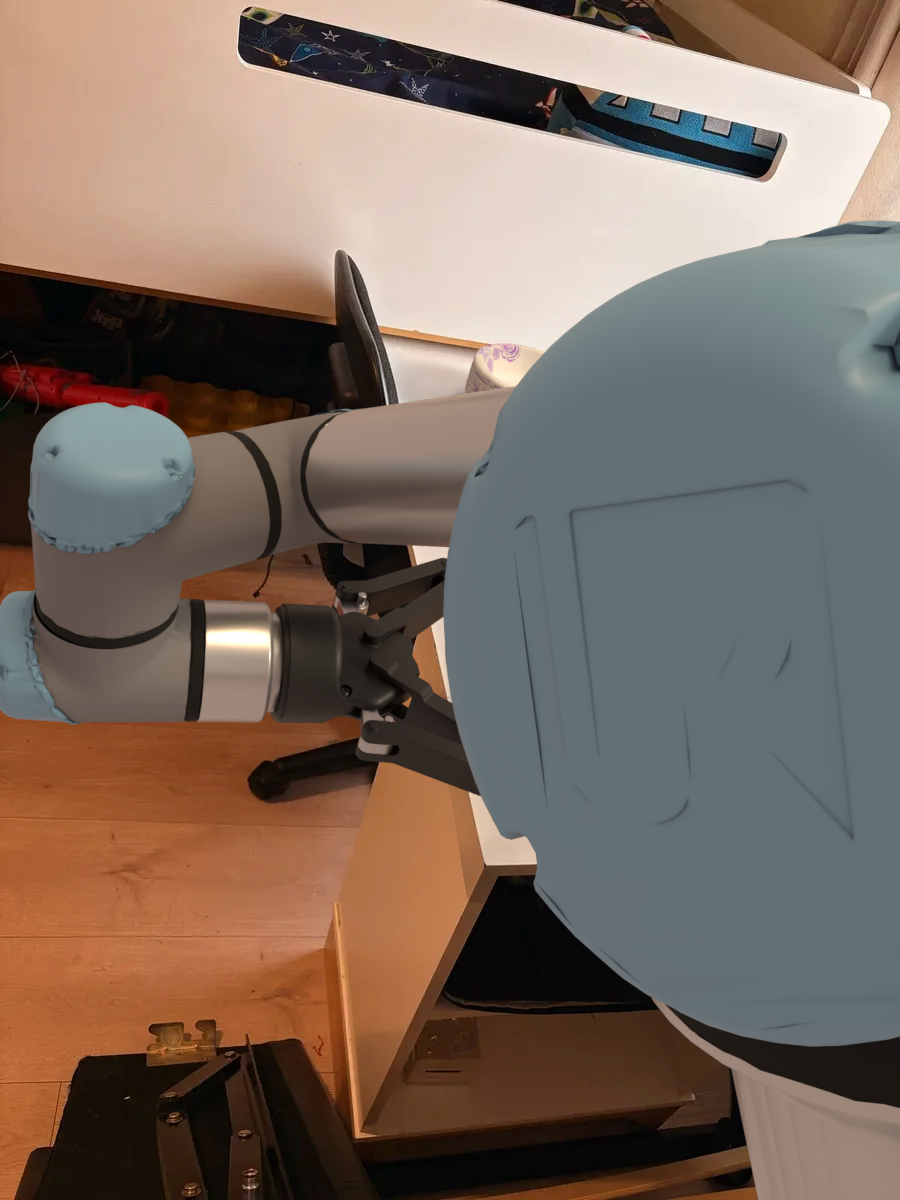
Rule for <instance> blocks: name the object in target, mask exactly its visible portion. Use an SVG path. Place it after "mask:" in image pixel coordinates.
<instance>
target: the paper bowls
mask: <svg viewBox="0 0 900 1200" xmlns="http://www.w3.org/2000/svg"><path fill="white" fill-rule="evenodd" d="M544 353H545V351H544V350H541V349H538V348H535V347H531V346H527V345H523V344H517V343H505V342H502V343H501V342H499V343H491V344H487V345H484V346H482V347H479V349H477V350H476V352H475V353H474V355H473V358H472V362H471V365H470V368H469V372H468V374H467V379H466V381H465V382H466V383H465V387H464V394H466V393H472V392H479V391H486V390H492V389H499V388H506V387H512V386H517V384H518V383H519V382H520V381H521V379H522V378H523V377H524V375H525V374H526V373H527V372H528V370H529V369H530V368H531V367H532V366H533V364H534V363H535V362H536V361H537V360H538V359H539V358H540V357H541V356H542V355H543V354H544Z"/></svg>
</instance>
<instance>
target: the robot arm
mask: <svg viewBox="0 0 900 1200" xmlns="http://www.w3.org/2000/svg"><path fill="white" fill-rule="evenodd" d="M544 352H545V353H544V354H543V355H542V356H541V357H540V358H539V359H538V360H537V361H536V362H535V363H534V364H533V366H532V367H531V368H530V369H529V370H528V372H527V373H526V374H525V375H524V377H523V378H522V379H521V381H520V382H519V383H518V384H517V386H512V387H506V388H499V389H492V390H486V391H479V392H472V393H460V394H453V395H446V396H440V397H439V396H438V397H433V398H426V399H420V400H412V401H407V402H399V403H393V404H385V405H379V406H372V407H366V408H356V409H350V408H342V409H334V410H331V411H324V412H319V413H317V414H314V415H310V416H305V417H299V418H294V419H288V420H283V421H282V420H281V421H278V422H272V423H267V424H262V425H258V426H253V427H248V428H243V429H242V428H241V429H237V430H228V431H221V432H214V433H208V434H203V435H197V436H191V437H188V436H187V435H186V433H185V432H184V431H183V430H182V428H180V427H179V426H178V425H177V424H176V423H174V421H172V420H171V419H169V418H168V417H166V416H165V415H163V414H160V413H158V412H156V411H155V410H152V409H149V408H146V407H142V406H139V405H133V404H131V405H128V406H125V407H119V406H115V405H114V404H113V405H112V404H110V403H108V402H93V403H86V404H82V405H77V406H75V407H71V408H68V409H66V410H63V411H62V412H60V413H58V414H57V415H55V416H54V417H52V418H50V419H49V421H47V422H46V423H45V424H44V425H43V427H42V428H41V429H40V431H39V432H38V434H37V436H36V438H35V441H34V443H33V446H32V447H33V448H32V461H31V464H30V476H29V478H30V479H29V482H30V483H29V497H28V499H27V502H28V510H27V513H28V514H27V515H28V520H29V522H30V530H31V543H32V544H31V545H32V555H33V556H32V558H33V559H32V560H33V572H34V586H35V589H34V590H17V591H13V592H10V593H9V594H7V595H6V596H5V597H4V598H3V599H2V601H1V603H0V711H1V712H2V714H4V715H6V717H10V718H12V719H16V720H28V721H29V720H30V721H45V722H56V723H57V722H59V723H68V724H69V725H72V726H73V725H74V726H75V725H80V724H83V723H184V722H185V723H187V722H189V723H193V722H194V723H196V722H197V723H260V722H261V721H262V720H263V719H265V717H266V715H267V713H269V714H270V716H271V718H272V719H273V720H275V721H276V723H278V724H287V723H288V724H324V723H327V722H329V721H331V720H333V719H336V718H340V717H346V718H350V719H354V720H356V721H359V737H358V741H357V745H356V748H355V755H356V757H357V758H358V759H359V760H361V761H364V762H375V763H384V764H385V763H386V764H394V765H396V766H399V767H402V768H404V769H407V770H410V771H413V772H415V773H417V774H420V775H423V776H425V777H428V778H431V779H433V780H435V781H439V782H441V783H443V784H447V785H449V786H452V787H454V788H457V789H460V790H463V791H465V792H468V793H471V794H473V795H476V796H478V797H481V800H482V802H483V804H484V806H485V808H486V810H487V812H488V813H489V815H490V817H491V820H492V822H493V823H494V826H495V827H496V829H497V831H498V833H499V836H501V837H502V838H504V839H507V840H510V841H512V840H516V839H520V838H523V837H525V838H526V839H527V840H528V842H529V844H530V846H531V847H532V849H533V852H534V854H535V859H536V871H535V878H534V880H533V881H532V882H533V887H534V891H535V892H536V893H537V894H538V895H539V897H540V898H541V900H543V901H544V903H545V904H546V905H547V907H548V908H549V909H550V910H551V911H552V913H553V914H554V915H555V916H556V917H557V918H558V919H559V921H560V922H561V923H562V924H563V925H564V926H565V927H566V928H567V929H568V931H570V933H572V935H573V936H574V937H575V938H576V939H578V941H580V942H581V943H582V944H583V945H584V946H585V947H587V948H588V949H589V950H590V951H591V952H592V953H593V954H594V955H595V956H597V958H599V959H600V960H601V961H602V962H603V963H605V964H606V965H607V966H608V967H609V968H610V969H611V970H612V971H614V972H615V973H616V974H617V975H618V976H620V978H621V979H623V980H625V981H626V982H628V983H629V984H631V985H632V986H634V987H635V988H636V989H638V990H639V991H641V992H642V993H644V994H645V995H647V996H649V997H651V1000H652V1001H653V1003H654V1004H655V1005H656V1006H657V1008H658V1009H659V1011H660V1012H661V1013H662V1014H663V1016H665V1018H666V1019H667V1020H668V1021H669V1023H670V1024H671V1025H673V1027H674V1028H676V1029H677V1030H678V1031H679V1032H680V1033H681V1034H682V1035H683V1036H684V1037H685V1038H687V1040H689V1041H690V1043H692V1044H694V1045H695V1046H696V1047H698V1048H699V1049H701V1050H702V1051H704V1052H705V1053H706V1054H708V1055H709V1056H710V1057H712V1058H714V1059H715V1060H716V1061H718V1062H719V1063H720V1064H722V1065H724V1066H726V1067H727V1068H729V1069H731V1073H732V1078H733V1084H734V1088H735V1093H736V1098H737V1104H738V1108H739V1113H740V1118H741V1123H742V1128H743V1132H744V1137H745V1143H746V1146H747V1147H746V1148H747V1152H748V1157H749V1162H750V1167H751V1172H752V1175H753V1180H754V1186H755V1190H756V1195H757V1200H900V221H899V220H898V221H897V220H896V221H895V220H854V221H847V222H844V223H840V224H837V225H833V226H829V227H826V228H823V229H821V230H818V231H815V232H812V233H808V234H804V235H800V236H797V237H796V236H795V237H787V238H778V239H769V240H767V241H766V242H764V243H763V244H762V245H757V246H752V247H749V248H744V249H741V250H735V251H731V252H727V253H723V254H719V255H714V256H710V257H705V258H702V259H698V260H694V261H692V262H689V263H685V264H682V265H680V266H676V267H674V268H670V269H668V270H665V271H663V272H662V273H659V274H657V275H655V276H652V277H650V278H647V279H644V280H643V281H639V282H638V283H636V284H635V285H632V286H630V287H629V288H627V289H625V290H624V291H623V290H622V291H621V292H619V293H618V294H616V295H614V296H612V297H611V298H610V299H608V300H607V301H605V302H604V303H602V304H601V305H599V306H598V307H596V308H595V309H593V310H592V311H590V312H589V313H588V314H586V315H585V316H584V317H582V318H581V319H580V320H579V321H578V322H576V323H575V324H574V325H573V326H571V327H570V328H569V329H568V330H566V331H565V333H563V334H562V335H561V336H560V337H559V338H557V340H555V341H554V342H553V343H552V344H551V345H550V346H549V347H548V348H547V349H546V350H545V351H544ZM324 543H328V544H329V543H330V544H332V543H333V544H354V545H355V544H356V545H359V544H360V545H361V544H368V545H369V544H372V545H391V546H393V545H394V546H412V547H435V548H436V547H437V548H448V549H447V555H446V557H439V558H436V559H433V560H429V561H426V562H423V563H420V564H419V563H418V564H416V565H413V566H410V567H406V568H403V569H400V570H397V571H393V572H390V573H387V574H383V575H379V576H377V577H374V578H371V579H367V580H342V581H339V582H338V583H337V586H336V589H335V593H334V596H333V600H332V601H333V602H332V605H331V606H330V605H323V604H303V603H286V602H285V603H281V604H280V606H277V607H276V608H275V610H274V611H272V610H271V607H270V606H269V605H268V604H267V603H266V601H253V600H251V601H249V600H248V601H247V600H229V599H228V600H227V599H225V600H224V599H223V600H222V599H201V598H200V599H199V598H184V597H183V598H182V597H180V596H181V592H182V586H183V585H182V584H183V582H184V581H187V580H190V579H193V578H198V577H201V576H204V575H207V574H212V573H215V572H219V571H222V570H226V569H229V568H232V567H236V566H240V565H244V564H247V563H250V562H254V561H258V560H262V559H264V558H267V557H269V556H273V555H277V554H280V553H284V552H289V551H292V550H296V549H300V548H304V547H307V546H312V545H317V544H324ZM401 606H403V607H401ZM389 610H391V611H389ZM386 611H389V612H388V613H385V615H383V616H382V617H380V618H378V619H374V618H373V617H372V616H375V615H377V614H380V613H382V612H386ZM370 616H371V617H370ZM441 619H442V620H443V633H444V635H443V636H444V657H445V665H446V673H447V681H448V687H449V688H448V689H449V693H450V700H451V701H450V700H447V699H446V698H445V697H443V696H441V695H439V694H437V693H436V692H434V690H433V688H432V685H431V683H429V682H428V681H426V680H425V679H423V678H421V677H420V675H421V671H420V668H419V664H418V663H417V661H416V659H415V657H414V656H413V654H414V645H413V639H414V638H416V637H417V636H419V635H421V634H422V633H423V632H424V631H426V630H427V629H429V628H430V627H431V626H433V625H434V624H436V623H437V622H438V621H440V620H441ZM408 700H410V702H409V704H408V706H406V705H405V704H404V703H406V702H408Z"/></svg>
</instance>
